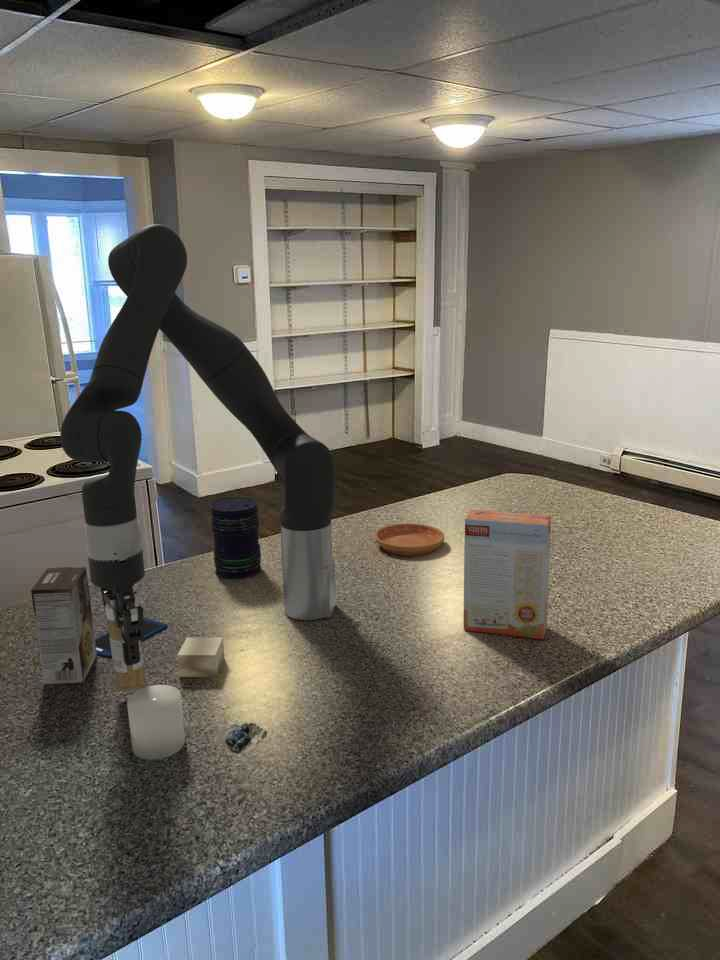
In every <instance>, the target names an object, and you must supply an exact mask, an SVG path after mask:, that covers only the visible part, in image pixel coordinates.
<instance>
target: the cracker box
mask: <svg viewBox="0 0 720 960" xmlns="http://www.w3.org/2000/svg"><path fill="white" fill-rule="evenodd" d="M551 524H552V516H551V515H548V514H547V515H546V514H531V513H520V512H518V513H516V512H504V511H493V510H480V509H479V510H478V509H471V510H470V512H469V514H468V515H467V516H466V518H464V554H463V556H464V559H463V560H464V561H463V562H464V563H463V565H464V566H463V567H464V568H463V630H464V631H469V632H470V631H471V632H478V633H479V632H481V633H485V634H486V633H487V634H495V635H503V636H510V637H511V636H512V637H520V638H527V639H535V640H544V638H545V634H546V630H547V626H548V607H549V606H548V605H549V583H550V581H549V580H550V556H551V555H550V554H551V532H552V531H551V528H552V527H551V526H552V525H551Z"/></svg>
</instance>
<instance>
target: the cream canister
mask: <svg viewBox="0 0 720 960" xmlns="http://www.w3.org/2000/svg"><path fill="white" fill-rule="evenodd" d="M126 705H127V706H126V707H127V714H128V724H129V733H130V741H131V742H130V744H131V751H132V753H133V755H135V756H136V757H138V758H139V759H144V760H147V761H149V760H150V761H151V760H152V761H153V760H161V759H165V758H168V757H170V756H172V755H175V754H176V753H177V752H179V751H181V749H182V748H183V747H184V746H185V744H186V743H185V742H186V738H185V735H186V734H185V726H184V715H183V713H184V712H183V701H182V693H181V691H180V689H178V687H175V686H172V685H169V684H155V685H154V684H153V685H149V686H145V687H141V688H140V689H138V690H135V691H133V693H131V695H129V697H128V698H127V700H126Z"/></svg>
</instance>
